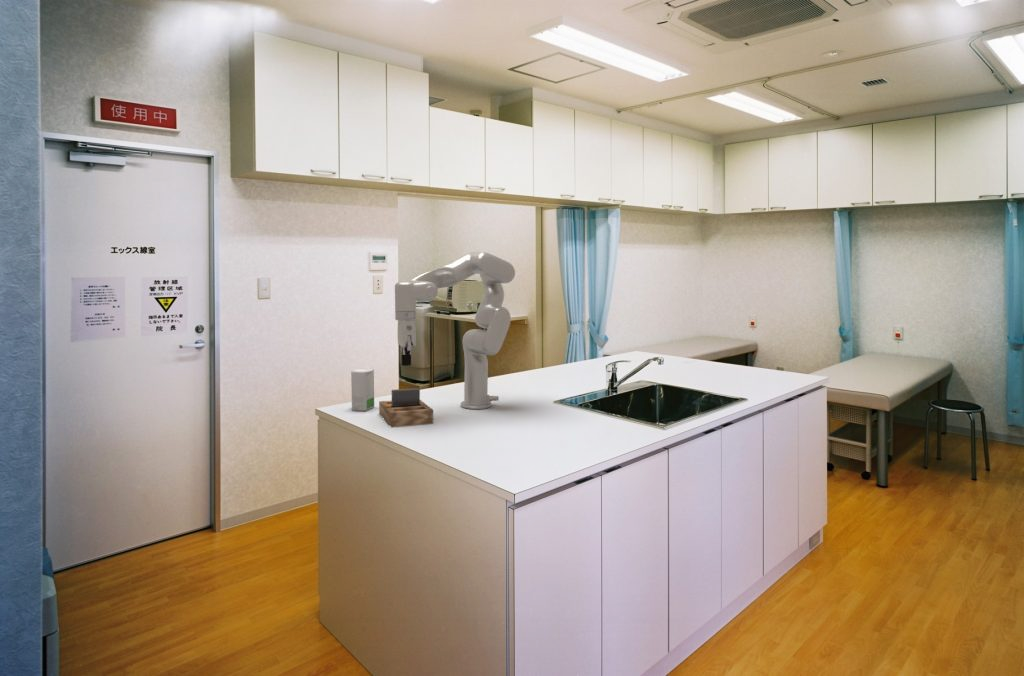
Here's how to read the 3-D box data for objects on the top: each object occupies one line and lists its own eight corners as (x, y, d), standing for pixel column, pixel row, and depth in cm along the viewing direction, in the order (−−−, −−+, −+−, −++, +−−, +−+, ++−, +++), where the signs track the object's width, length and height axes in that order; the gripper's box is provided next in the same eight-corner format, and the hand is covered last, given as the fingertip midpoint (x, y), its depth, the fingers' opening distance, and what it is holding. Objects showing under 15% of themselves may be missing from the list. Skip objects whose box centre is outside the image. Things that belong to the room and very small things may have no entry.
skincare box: (366, 411, 238) (365, 372, 236) (350, 410, 239) (349, 371, 237) (375, 407, 246) (374, 368, 244) (359, 406, 247) (359, 368, 246)
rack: (418, 411, 240) (418, 397, 240) (433, 423, 222) (433, 408, 222) (379, 414, 234) (379, 399, 234) (390, 426, 216) (390, 411, 215)
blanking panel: (418, 411, 231) (418, 388, 230) (419, 413, 229) (419, 389, 228) (391, 413, 227) (391, 389, 226) (393, 415, 225) (393, 391, 224)
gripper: (421, 317, 219) (421, 367, 221) (410, 313, 232) (411, 361, 235) (400, 317, 216) (401, 369, 218) (390, 314, 229) (391, 362, 232)
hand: (406, 365), depth 226 cm, fingers closed
